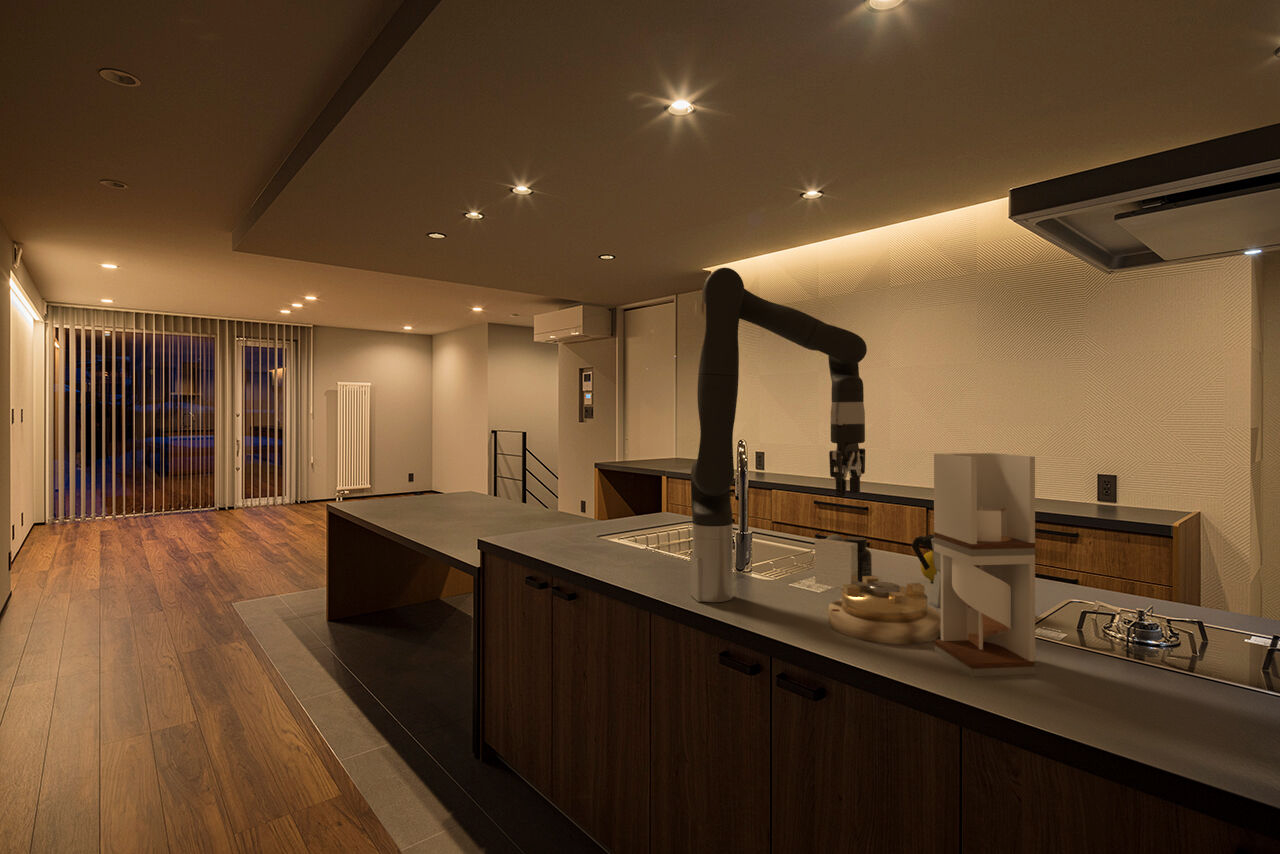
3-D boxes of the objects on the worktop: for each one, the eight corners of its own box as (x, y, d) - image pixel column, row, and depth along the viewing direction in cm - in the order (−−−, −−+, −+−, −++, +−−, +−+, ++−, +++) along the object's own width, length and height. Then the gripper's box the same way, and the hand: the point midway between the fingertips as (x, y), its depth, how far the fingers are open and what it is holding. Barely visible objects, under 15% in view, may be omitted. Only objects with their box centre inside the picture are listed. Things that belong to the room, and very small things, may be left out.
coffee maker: (989, 606, 143) (988, 524, 142) (976, 615, 136) (976, 529, 136) (919, 594, 153) (918, 517, 153) (904, 602, 146) (904, 522, 146)
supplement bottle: (868, 584, 163) (867, 536, 163) (875, 591, 156) (875, 541, 156) (839, 583, 163) (839, 535, 163) (845, 590, 157) (845, 540, 157)
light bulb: (847, 570, 177) (847, 533, 177) (844, 575, 172) (844, 537, 172) (825, 568, 180) (825, 532, 180) (821, 573, 175) (821, 535, 174)
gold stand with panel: (939, 608, 130) (939, 547, 130) (909, 627, 119) (909, 560, 119) (835, 589, 145) (835, 534, 145) (799, 605, 133) (799, 545, 133)
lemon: (943, 580, 166) (943, 548, 166) (946, 585, 161) (945, 553, 161) (919, 578, 168) (919, 547, 168) (921, 583, 163) (921, 551, 163)
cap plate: (865, 648, 117) (865, 630, 117) (810, 614, 138) (809, 599, 138) (966, 638, 122) (966, 621, 122) (898, 607, 143) (898, 592, 142)
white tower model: (934, 651, 116) (933, 453, 115) (991, 649, 117) (991, 452, 116) (971, 676, 105) (971, 457, 104) (1035, 673, 105) (1034, 456, 105)
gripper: (845, 422, 158) (846, 491, 158) (817, 422, 147) (818, 496, 147) (876, 421, 153) (876, 493, 153) (849, 422, 142) (850, 499, 142)
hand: (848, 494), depth 150 cm, fingers open, 6 cm apart
